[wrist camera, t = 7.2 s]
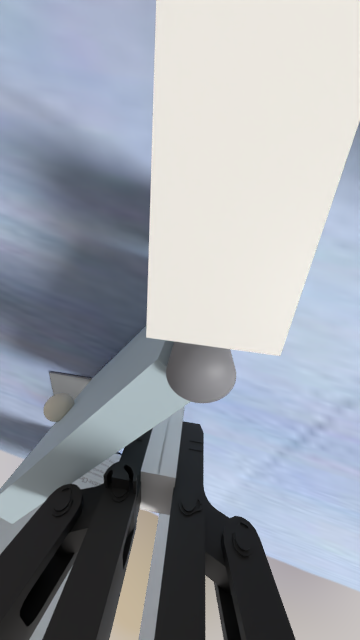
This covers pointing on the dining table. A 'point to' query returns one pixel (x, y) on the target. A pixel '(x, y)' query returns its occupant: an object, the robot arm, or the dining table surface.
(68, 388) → the mat
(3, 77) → the dining table surface
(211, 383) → the door
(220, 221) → the wall
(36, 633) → the skincare box
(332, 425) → the dining table surface
